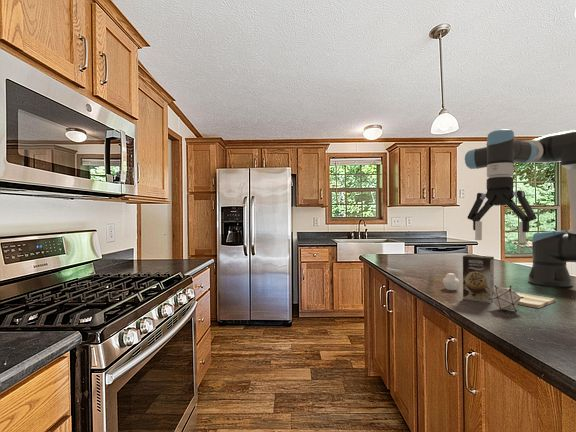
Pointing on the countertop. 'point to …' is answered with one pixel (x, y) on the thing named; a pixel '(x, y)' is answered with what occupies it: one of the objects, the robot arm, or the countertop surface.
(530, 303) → the birch board
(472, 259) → the cookie box
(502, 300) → the wireframe polyhedron
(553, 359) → the countertop surface
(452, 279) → the white knobbed ball
